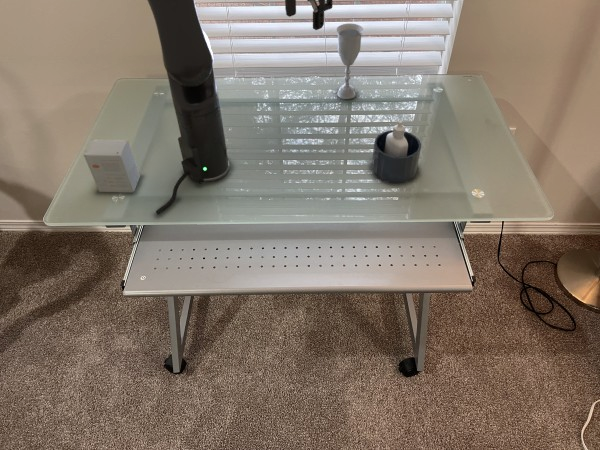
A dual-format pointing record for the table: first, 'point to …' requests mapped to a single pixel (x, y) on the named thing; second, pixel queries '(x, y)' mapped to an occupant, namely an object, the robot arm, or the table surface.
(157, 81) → the table surface
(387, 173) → the dark blue round container
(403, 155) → the eye dropper bottle
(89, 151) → the small box
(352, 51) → the chalice
